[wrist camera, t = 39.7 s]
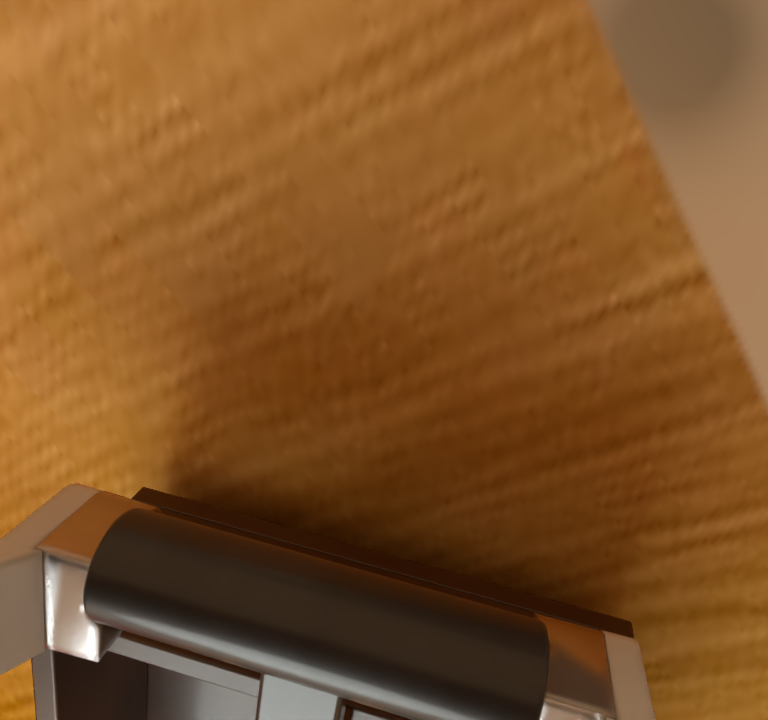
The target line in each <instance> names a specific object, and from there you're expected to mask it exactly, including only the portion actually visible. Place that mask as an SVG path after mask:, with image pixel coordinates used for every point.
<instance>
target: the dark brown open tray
mask: <svg viewBox="0 0 768 720" xmlns="http://www.w3.org/2000/svg"><path fill="white" fill-rule="evenodd" d="M132 499H133V500H136V501H139V502H143V503H146V504H149V505H152V506H156V507H159V508H160V509H161V511H162V512H163V514H161V513H158V512H154V511H150V510H147V509H143V508H133V509H130V510H127V511H126V512H124V513H123V514H121V515H120V516H119V517H118V518H117V519H116V520H115V521H114V522H113V524H112V525H111V526H110V528H109V529H108V530H107V532H106V533H105V535H104V536H103V538H102V540H101V542H100V543H99V545H98V547H97V549H96V551H95V554H94V556H93V558H92V561H91V564H90V566H89V569H88V573H87V576H86V580H85V585H84V593H83V605H84V610H85V612H86V614H87V616H88V617H89V618H90V619H91V620H92V621H94V622H97V623H100V624H103V625H107V626H110V627H113V628H116V629H120V630H123V631H122V633H121V634H120V635H119V636H118V638H117V639H116V640H115V642H114V643H113V644H112V645H111V647H110V648H109V649H108V650H107V652H106V653H105V654H104V655H103V657H102V658H101V659H100V661H99V662H94V661H91V660H87V659H84V658H80V657H77V656H73V655H70V654H66V653H62V652H59V651H55V650H52V649H48V648H45V651H44V652H42V653H40V654H39V655H37V656H35V657H33V658H31V662H32V674H33V686H34V698H35V710H36V720H540V717H541V713H542V709H543V704H544V699H545V693H546V687H547V680H548V671H549V656H550V645H549V635H548V630H547V626H546V625H545V623H543V622H542V621H541V620H538V619H535V618H531V617H532V616H533V614H534V613H537V614H541V615H545V616H548V617H552V618H556V619H559V620H563V621H567V622H570V623H574V624H577V625H581V626H585V627H588V628H592V629H596V630H599V631H601V630H603V631H607V632H611V633H614V634H618V635H622V636H626V637H630V638H634V634H633V628H632V623H631V622H630V621H627V620H623V619H619V618H616V617H612V616H608V615H605V614H601V613H598V612H594V611H590V610H587V609H583V608H580V607H576V606H572V605H569V604H565V603H561V602H558V601H554V600H551V599H547V598H543V597H540V596H536V595H533V594H529V593H525V592H522V591H518V590H514V589H511V588H507V587H504V586H500V585H496V584H493V583H489V582H486V581H482V580H478V579H475V578H471V577H467V576H464V575H460V574H457V573H453V572H449V571H446V570H442V569H439V568H435V567H431V566H428V565H424V564H420V563H417V562H413V561H410V560H406V559H402V558H399V557H395V556H392V555H388V554H384V553H381V552H377V551H373V550H370V549H366V548H363V547H359V546H355V545H352V544H348V543H345V542H341V541H337V540H334V539H330V538H326V537H323V536H319V535H316V534H312V533H308V532H305V531H301V530H298V529H294V528H290V527H287V526H283V525H279V524H276V523H272V522H269V521H265V520H261V519H258V518H254V517H251V516H247V515H243V514H240V513H236V512H232V511H229V510H225V509H222V508H218V507H214V506H211V505H207V504H204V503H200V502H196V501H193V500H189V499H185V498H182V497H178V496H175V495H171V494H167V493H164V492H160V491H157V490H153V489H149V488H146V487H142V488H141V490H140V491H139V492H138V493H137V494H136V495H135V496H134V497H133V498H132Z"/></svg>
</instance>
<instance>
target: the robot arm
mask: <svg viewBox="0 0 768 720" xmlns="http://www.w3.org/2000/svg"><path fill="white" fill-rule="evenodd" d="M133 508H143V509H147V510H150V511H154V512H158V513H161V514H163V512H162V511H161V509H160V508H159V507H156V506H152V505H149V504H146V503H143V502H139V501H136V500H133V499H129V498H126V497H123V496H120V495H116V494H113V493H110V492H107V491H101V490H98V489H95V488H92V487H88V486H85V485H82V484H78V483H75V484H70V485H67V486H66V487H65V488H63V489H62V490H61V491H60V492H59V493H57V494H56V495H55V496H54V497H52V498H51V499H50V500H49V501H47V502H46V503H45V504H44V505H42V506H41V507H40V508H39V509H37V510H36V511H35V512H34V513H32V514H31V515H30V516H29V517H27V518H26V519H25V520H24V521H22V522H21V523H20V524H19V525H17V526H16V527H15V528H14V529H12V530H11V531H10V532H9V533H8V534H6V535H5V536H4V537H3V538H1V539H0V675H2V674H3V673H5V672H7V671H9V670H11V669H13V668H15V667H16V666H18V665H20V664H22V663H24V662H26V661H27V660H29V659H31V658H33V657H35V656H37V655H39V654H40V653H42V652H44V651H45V648H48V649H52V650H55V651H59V652H62V653H66V654H70V655H73V656H77V657H80V658H84V659H87V660H91V661H94V662H99V661H100V659H101V658H102V657H103V655H104V654H105V653H106V652H107V650H108V649H109V648H110V647H111V645H112V644H113V643H114V642H115V640H116V639H117V638H118V636H119V635H120V634H121V633H122V631H123V630H120V629H116V628H113V627H110V626H107V625H103V624H100V623H97V622H94V621H92V620H91V619H90V618H89V617H88V616H87V614H86V612H85V610H84V605H83V593H84V585H85V580H86V576H87V573H88V569H89V566H90V564H91V561H92V558H93V556H94V554H95V551H96V549H97V547H98V545H99V543H100V542H101V540H102V538H103V536H104V535H105V533H106V532H107V530H108V529H109V528H110V526H111V525H112V524H113V522H114V521H115V520H116V519H117V518H118V517H119V516H120V515H121V514H123V513H124V512H126V511H127V510H130V509H133ZM531 618H535V619H538V620H541V621H542V622H543V623H545V625H546V626H547V630H548V635H549V645H550V656H549V671H548V680H547V687H546V693H545V699H544V704H543V709H542V713H541V717H540V720H656V717H655V713H654V708H653V704H652V699H651V695H650V690H649V686H648V681H647V677H646V672H645V668H644V663H643V659H642V654H641V650H640V645H639V643H638V642H637V641H636V639H634V638H630V637H626V636H622V635H618V634H614V633H611V632H607V631H603V630H601V631H599V630H596V629H592V628H588V627H585V626H581V625H577V624H574V623H570V622H567V621H563V620H559V619H556V618H552V617H548V616H545V615H541V614H537V613H534V614H533V616H532V617H531Z"/></svg>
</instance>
